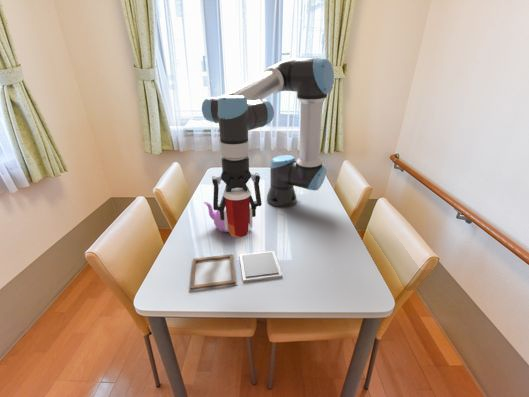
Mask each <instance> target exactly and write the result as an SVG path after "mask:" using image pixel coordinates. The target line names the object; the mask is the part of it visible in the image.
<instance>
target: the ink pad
mask: <svg viewBox="0 0 529 397" xmlns="http://www.w3.org/2000/svg"><path fill="white" fill-rule="evenodd" d="M239 261H240V262H239V264H240V268H241V277H242V283H246V282H254V281H262V280H263V281H264V280H270V279H278V278H279V279H280V278H283V273H282V270H281V267H280V264H279V261H278V258H277V254H276V252H275V250H269V251H261V252H252V253H244V254H243V253H242V254H239Z"/></svg>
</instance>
